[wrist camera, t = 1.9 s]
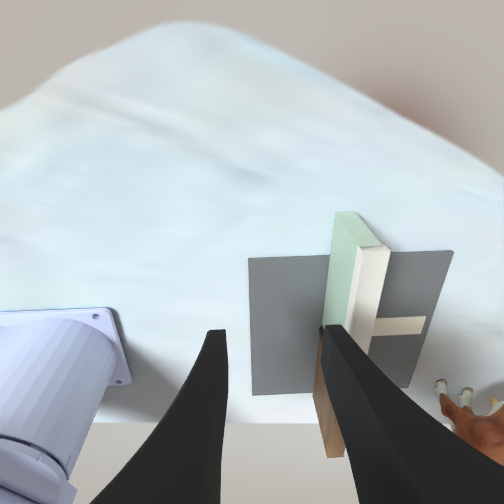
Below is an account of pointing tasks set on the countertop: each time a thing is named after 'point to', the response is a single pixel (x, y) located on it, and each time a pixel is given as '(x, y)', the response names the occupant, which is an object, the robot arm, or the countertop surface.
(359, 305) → the fence gate
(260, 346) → the board
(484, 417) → the bull figurine
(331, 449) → the fence section
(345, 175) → the countertop surface
